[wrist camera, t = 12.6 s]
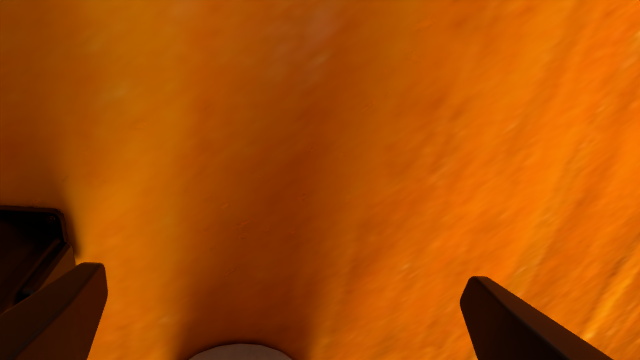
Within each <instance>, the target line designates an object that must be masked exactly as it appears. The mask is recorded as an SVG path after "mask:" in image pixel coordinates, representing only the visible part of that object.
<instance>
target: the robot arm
mask: <svg viewBox="0 0 640 360" xmlns="http://www.w3.org/2000/svg"><path fill="white" fill-rule="evenodd" d="M50 216H52V217H54V218H55V220H54V219H51V218H50ZM107 296H108V288H107V280H106V272H105V267H104V265H103V264H102V263H95V262H83V263H81V264H79V265H77V266H75V260H74V254H73V249H72V245H71V244H70V243H69V242H68V237H67V232H66V226H65V220H64V216H63V214H62V213H61V212H60V211H59V210H57V209H52V208H35V207H18V206H1V205H0V360H87V358H88V355H89V352H90V349H91V346H92V343H93V340H94V337H95V334H96V331H97V328H98V325H99V322H100V319H101V316H102V313H103V310H104V307H105V304H106V301H107ZM460 307H461V311H462V314H463V317H464V320H465V323H466V326H467V329H468V332H469V335H470V338H471V341H472V344H473V347H474V350H475V353H476V356H477V358H478V360H613V359H612V358H610V357H609V356H607V355H606V354H604V353H603V352H601V351H600V350H598V349H596V348H595V347H593V346H592V345H590V344H589V343H587V342H586V341H584V340H583V339H581V338H580V337H578V336H577V335H575V334H574V333H572V332H571V331H569V330H567V329H566V328H564V327H563V326H561V325H560V324H558V323H557V322H555V321H554V320H552V319H551V318H549V317H548V316H546V315H545V314H543V313H542V312H540V311H538V310H537V309H535V308H534V307H532V306H531V305H529V304H528V303H526V302H525V301H523V300H522V299H520V298H519V297H517V296H516V295H514V294H513V293H511V292H510V291H508V290H506V289H505V288H503V287H502V286H500V285H499V284H497V283H496V282H494V281H493V280H491V279H490V278H488V277H485V276H472V277H471V278H470V279H469V280H468V282H467V285H466V287H465V289H464V291H463V294H462V296H461V299H460Z"/></svg>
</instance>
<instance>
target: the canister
mask: <svg viewBox="0 0 640 360" xmlns="http://www.w3.org/2000/svg"><path fill="white" fill-rule="evenodd" d="M189 360H292V359H291V358H289V357H288V356H286V355H285V354H284V353H282V352H281V351H278V350H275V349H272V348H269V347H266V346H263V345H253V344H242V343H240V344H232V345H224V346H218V347H215V348H212V349H209V350H207V351H204V352H201V353H198V354H196V355H195V356H193V357H192V358H191V359H189Z"/></svg>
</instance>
